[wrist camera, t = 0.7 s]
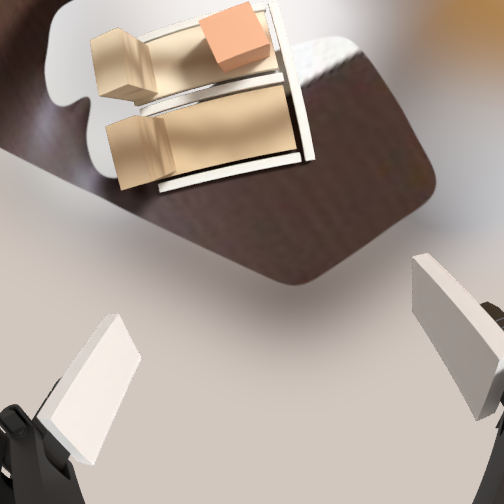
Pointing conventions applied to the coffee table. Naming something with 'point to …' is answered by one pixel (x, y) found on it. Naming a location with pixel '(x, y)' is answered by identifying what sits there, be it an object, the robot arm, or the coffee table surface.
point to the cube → (235, 37)
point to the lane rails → (236, 87)
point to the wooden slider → (163, 64)
